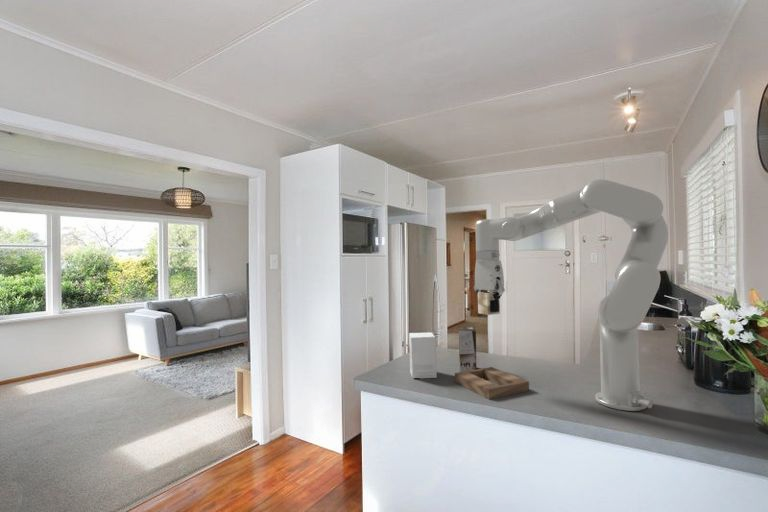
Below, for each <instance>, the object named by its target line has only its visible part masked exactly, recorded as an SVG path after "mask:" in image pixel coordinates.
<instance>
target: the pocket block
mask: <svg viewBox="0 0 768 512" xmlns="http://www.w3.org/2000/svg"><path fill="white" fill-rule="evenodd" d="M482 378H483V379H482ZM484 378H485V379H484ZM489 380H490V381H489ZM491 381H492V382H491ZM456 382H457V383H456ZM493 382H494V383H493ZM454 383H456V384H458V383H459V384H458V385H461V386H462V387H464V388H466V389H468V390H470V391H472V392H474V393H476V394H477V395H480V396H482V397H483V398H485V399H487V400H492V399H496V398H501V397H506V396H511V395H516V394H520V393H526V392H529V391H530V381H528V380H526V379H524V378H521V377H518V376H516V375H513V374H511V373H507V372H505V371H503V370H500V369H498V368H495V367H493V366H491V367H484V368H479V369H477V368H476V370H471V371H465V372H460V371H459V372H454Z"/></svg>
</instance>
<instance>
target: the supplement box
mask: <svg viewBox="0 0 768 512" xmlns="http://www.w3.org/2000/svg"><path fill="white" fill-rule="evenodd" d="M408 342H409V343H408V344H409V345H408V346H409V347H408V348H409V350H408V351H409V372H410V375H411V378H412V380H414V378H420V379H436V378H437V345H436V336H435V335H434V333H433V332H409V333H408Z"/></svg>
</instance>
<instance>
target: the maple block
mask: <svg viewBox="0 0 768 512" xmlns="http://www.w3.org/2000/svg"><path fill="white" fill-rule="evenodd" d="M494 294H495V292H494ZM490 300H491V295H490V291H487V292H483V291H482V292H478V295H477V313H478V314H481V315H485V316H490V315H491V316H492V315H500V314H501V305H500V304H501V303H500V302H501V301H500V300H501V299H500V300H499V312H490Z"/></svg>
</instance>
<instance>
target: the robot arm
mask: <svg viewBox="0 0 768 512" xmlns="http://www.w3.org/2000/svg"><path fill="white" fill-rule="evenodd" d="M663 211H664V204H663V202H662V199H661V198H660V197H659V196H658V195H656V194H655V193H652V192H650V191H646V190H643V189H639V188H636V187H632V186H629V185H625V184H622V183H619V182H616V181H612V180H608V179H604V178H601V179H600V178H599V179H594V180H591V181H589V182H588V183H587V184H586V185H585V186H584V187H581V188H579V189H576V190H574V191H572V192H569V193H566V194H564V195H561V196H557V197H556V198H553V199H550V200H549V201H546V202H545V203H544V204H543V205H541V206H540V207H538V208H537V209H535V210H533V211H531V212H528V213H526V214H524V215H521V216H519V217H513V216H507V217H501V218H496V219H491V218H489V219H486V218H485V219H480V220H479V219H478V220H477V221H476V222H475V225H474V226H475V228H474V229H475V266H474V285H473V290H474V292H476V295H477V296H478V292H490V295H491V300H490V312H499V300H501V297H502V296H503V294H504V293H505V292H506V290H505V279H504V270H503V264H502V261H501V260H500V241H501V240H503V241H509V242H517V241H520V240H522V239H526V238H529V237H533V236H534V235H537V234H540V233H543V232H546V231H548V230H552V229H555V228H557V227H560V226H563V225H566V224H570V223H572V222H574V221H577V220H580V219H583V218H586V217H590V216H593V215H595V214H598V213H601V212H604V213H606V214H609V215H612V216H614V217H618V218H621V219H623V221H624V222H625V223H626V225H628V226H629V228H630V230H631V237H630V240H629V242H628V244H627V248H626V250H625V252H624V255H623V257H622V258H621V261H620V263H619V264H618V266H617V268H616V269H615V273H614V279H615V280H614V281H615V282H614V283H613V286H612V287H611V290H610V291H609V294H608V295H606V296H604V297H603V298H602V300H601V301H600V302H599V305H598V309H597V310H598V326H599V356H600V357H599V358H600V362H599V363H600V364H599V365H600V391H599V392H596V393H595V398H594V399H595V401H596V402H597V403H599V404H601V405H603V406H605V407H608V408H611V409H615V410H620V411H629V412H630V411H631V412H637V411H643V410H645V409H646V408H648V409H652V408H653V406H654V405H653V404H654V399H653V398H649V397H646V396H645V395H644V393H645V392H644V390H642V389H640V362H639V360H640V359H639V358H640V357H639V350H640V349H639V348H640V347H639V345H640V344H639V332H638V330H639V329H638V328H639V327H640V326H641V325H642V323H643V322H644V320H645V318H646V316H647V313H649V310H650V308H651V305H652V303H653V301H654V299H655V297H656V294H657V292H658V290H659V287H660V284H661V273H660V271H659V269H658V268H659V264H660V263H661V260H662V257H663V255H664V252H665V250H666V247H667V245H668V240H669V229H668V225H667V223H666V222H667V221H666V220H665V218H664V217H663ZM494 292H495V294H494Z"/></svg>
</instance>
